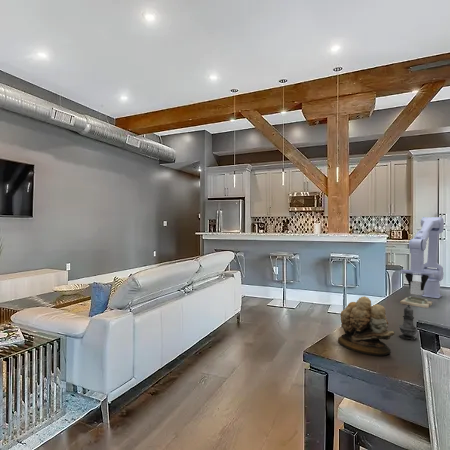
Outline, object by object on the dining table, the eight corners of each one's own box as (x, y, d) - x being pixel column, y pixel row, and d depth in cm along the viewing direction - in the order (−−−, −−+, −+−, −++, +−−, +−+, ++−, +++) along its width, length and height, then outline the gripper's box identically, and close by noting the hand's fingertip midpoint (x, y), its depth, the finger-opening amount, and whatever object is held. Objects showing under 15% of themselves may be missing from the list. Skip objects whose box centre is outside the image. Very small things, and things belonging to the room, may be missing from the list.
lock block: (412, 292, 168) (412, 280, 168) (422, 293, 165) (422, 281, 164) (410, 293, 164) (410, 281, 164) (420, 295, 161) (420, 283, 161)
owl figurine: (400, 351, 105) (401, 298, 105) (385, 361, 97) (386, 305, 97) (347, 335, 118) (348, 289, 118) (330, 344, 110) (331, 294, 110)
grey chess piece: (395, 334, 120) (395, 302, 119) (410, 334, 120) (411, 302, 120) (405, 340, 114) (406, 306, 113) (421, 340, 114) (422, 306, 114)
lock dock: (406, 299, 173) (406, 295, 173) (432, 303, 164) (432, 299, 164) (400, 303, 165) (400, 298, 165) (427, 308, 156) (427, 303, 156)
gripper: (399, 261, 166) (398, 288, 166) (432, 264, 156) (431, 292, 157) (402, 260, 171) (402, 286, 172) (435, 263, 161) (434, 290, 162)
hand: (416, 289), depth 164 cm, fingers closed on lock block, 4 cm apart
